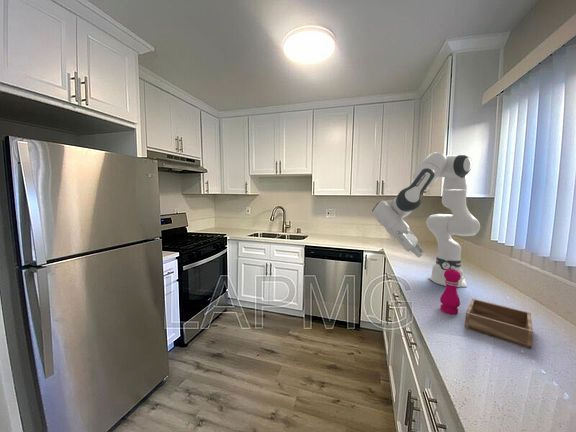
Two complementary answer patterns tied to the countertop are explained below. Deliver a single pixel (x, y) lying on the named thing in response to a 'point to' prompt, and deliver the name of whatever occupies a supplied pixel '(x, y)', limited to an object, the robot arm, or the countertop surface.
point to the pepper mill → (450, 292)
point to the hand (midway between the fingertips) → (421, 254)
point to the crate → (500, 322)
